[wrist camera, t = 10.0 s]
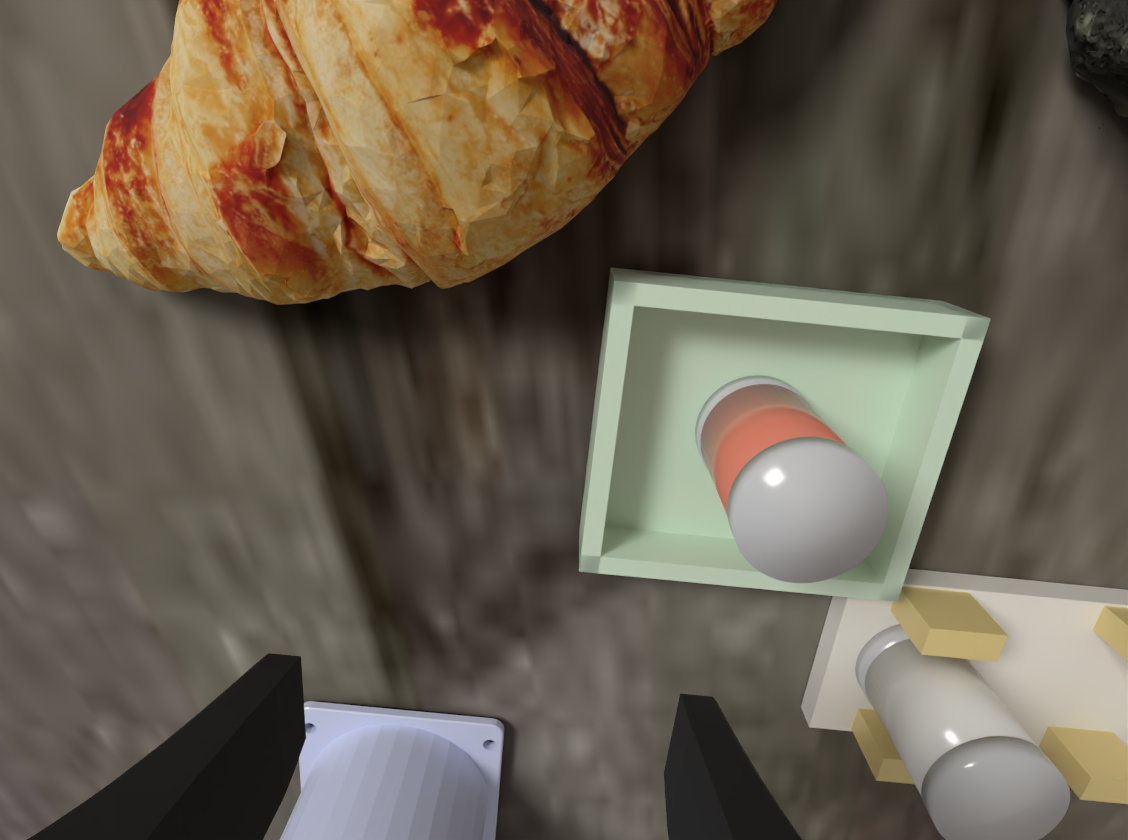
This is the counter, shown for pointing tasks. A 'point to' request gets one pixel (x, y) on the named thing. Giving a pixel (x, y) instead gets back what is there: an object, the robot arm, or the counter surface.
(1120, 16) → the stone
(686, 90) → the croissant
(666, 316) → the tray
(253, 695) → the robot arm
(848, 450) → the red fuse
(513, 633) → the counter surface
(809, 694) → the fuse block
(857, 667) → the grey fuse
